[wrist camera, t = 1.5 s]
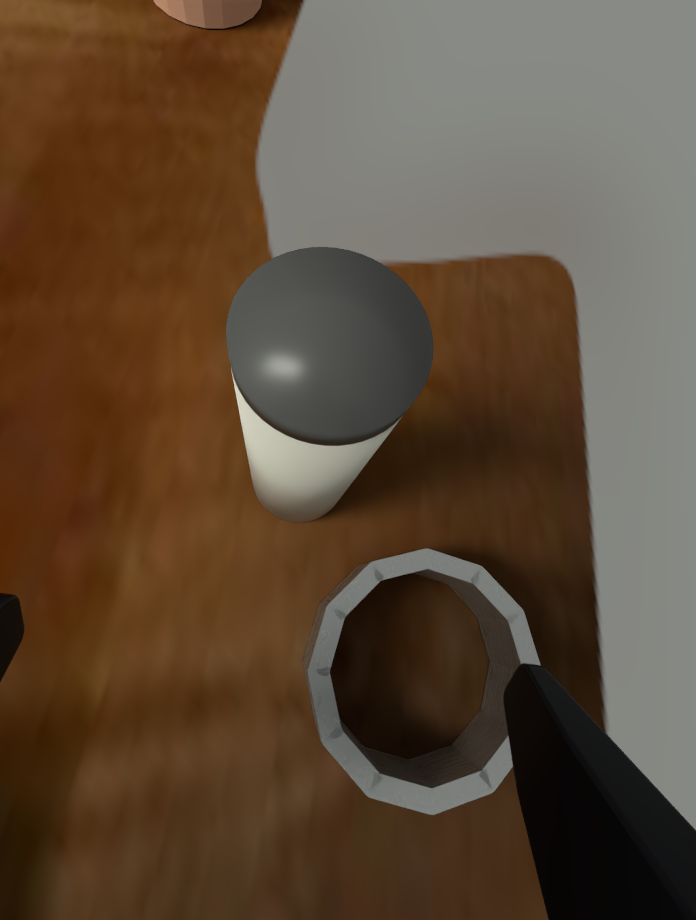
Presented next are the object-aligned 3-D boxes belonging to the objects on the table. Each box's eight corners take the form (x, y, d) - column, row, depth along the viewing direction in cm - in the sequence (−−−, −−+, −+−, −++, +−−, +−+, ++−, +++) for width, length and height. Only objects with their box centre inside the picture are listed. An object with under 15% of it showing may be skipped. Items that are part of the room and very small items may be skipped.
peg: (295, 542, 21) (327, 478, 9) (232, 472, 22) (180, 319, 9) (362, 480, 23) (472, 350, 10) (302, 415, 23) (337, 214, 11)
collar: (409, 830, 19) (433, 873, 16) (261, 659, 20) (260, 671, 17) (541, 661, 22) (582, 672, 19) (406, 517, 22) (426, 506, 20)
